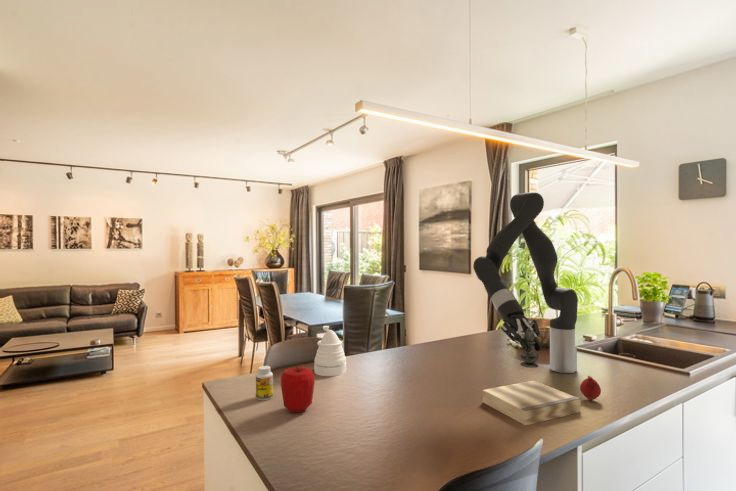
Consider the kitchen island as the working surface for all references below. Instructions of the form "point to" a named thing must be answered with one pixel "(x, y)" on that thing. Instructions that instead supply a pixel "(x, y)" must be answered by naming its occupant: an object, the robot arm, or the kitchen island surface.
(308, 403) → the apple
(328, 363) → the honey pot
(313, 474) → the kitchen island surface
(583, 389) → the onion
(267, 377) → the supplement bottle
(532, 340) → the dark grey chess piece
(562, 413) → the platform
